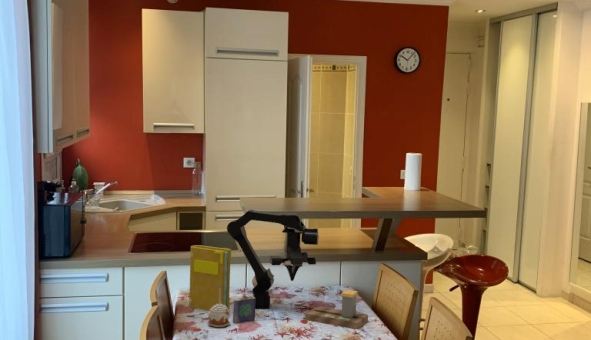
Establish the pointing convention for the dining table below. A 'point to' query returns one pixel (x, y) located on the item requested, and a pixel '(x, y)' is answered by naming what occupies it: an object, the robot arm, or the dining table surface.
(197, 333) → the dining table surface
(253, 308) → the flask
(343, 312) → the switch handle
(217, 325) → the candy apple
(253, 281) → the decorative fruit
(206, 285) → the book
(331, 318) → the wooden slotted board
